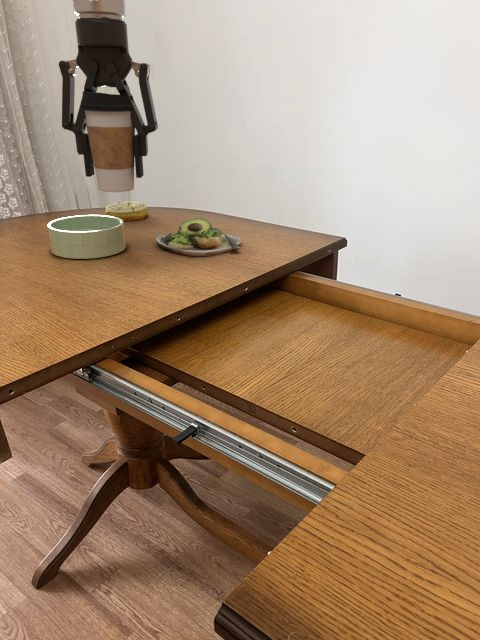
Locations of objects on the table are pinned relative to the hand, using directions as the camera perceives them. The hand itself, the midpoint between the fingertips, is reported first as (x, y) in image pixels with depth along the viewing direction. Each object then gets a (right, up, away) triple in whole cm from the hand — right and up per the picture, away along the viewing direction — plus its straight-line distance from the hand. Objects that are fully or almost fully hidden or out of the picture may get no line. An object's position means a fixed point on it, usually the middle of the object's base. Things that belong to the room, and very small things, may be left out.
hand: (115, 175), depth 92 cm
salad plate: (+11, -6, +30) cm, 32 cm away
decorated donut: (-11, +5, +53) cm, 54 cm away
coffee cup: (0, -2, +1) cm, 2 cm away
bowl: (-12, -8, +25) cm, 29 cm away
